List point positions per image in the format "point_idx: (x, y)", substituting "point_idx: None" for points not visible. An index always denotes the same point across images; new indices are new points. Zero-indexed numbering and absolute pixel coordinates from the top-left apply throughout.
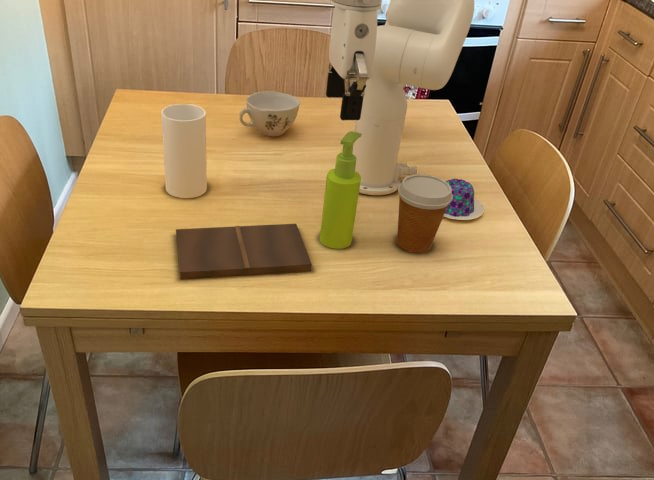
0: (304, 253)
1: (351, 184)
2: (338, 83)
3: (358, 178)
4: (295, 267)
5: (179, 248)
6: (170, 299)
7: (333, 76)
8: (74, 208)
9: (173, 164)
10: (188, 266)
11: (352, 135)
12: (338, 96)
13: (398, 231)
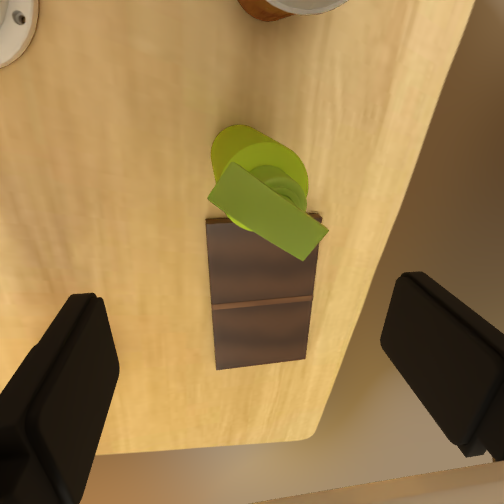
0: None
1: (307, 180)
2: (83, 398)
3: (286, 155)
4: None
5: (259, 363)
6: (332, 356)
7: (76, 479)
8: (153, 448)
9: None
10: (296, 353)
11: (276, 217)
12: (106, 324)
13: (271, 18)
